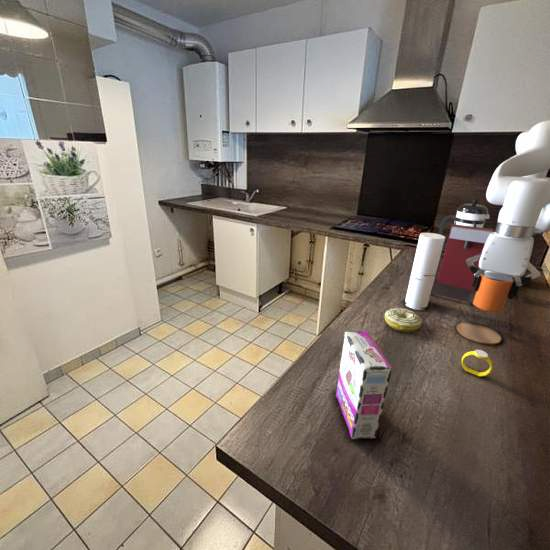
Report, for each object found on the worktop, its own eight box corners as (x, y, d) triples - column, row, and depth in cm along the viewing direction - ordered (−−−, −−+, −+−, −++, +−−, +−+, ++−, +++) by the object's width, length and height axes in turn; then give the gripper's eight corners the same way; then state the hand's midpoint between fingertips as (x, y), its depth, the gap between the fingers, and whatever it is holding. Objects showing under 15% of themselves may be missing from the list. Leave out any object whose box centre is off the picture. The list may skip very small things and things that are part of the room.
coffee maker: (438, 280, 122) (452, 224, 113) (474, 288, 115) (493, 229, 106) (430, 295, 109) (447, 232, 100) (471, 305, 102) (492, 239, 93)
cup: (473, 297, 87) (482, 269, 84) (502, 304, 83) (513, 275, 80) (471, 307, 82) (481, 277, 78) (503, 315, 78) (514, 284, 74)
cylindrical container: (429, 311, 98) (448, 239, 88) (407, 308, 99) (423, 237, 89) (423, 301, 104) (440, 233, 95) (402, 299, 106) (417, 232, 96)
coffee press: (468, 255, 154) (485, 197, 143) (481, 265, 140) (501, 202, 128) (433, 252, 158) (447, 195, 146) (441, 262, 143) (457, 200, 132)
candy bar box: (378, 439, 54) (394, 368, 47) (351, 440, 53) (364, 369, 47) (357, 393, 64) (368, 329, 57) (335, 394, 63) (343, 330, 57)
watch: (458, 370, 71) (464, 350, 69) (459, 364, 73) (466, 345, 71) (487, 381, 68) (495, 361, 65) (488, 375, 70) (496, 355, 68)
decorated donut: (425, 324, 90) (428, 313, 89) (413, 339, 83) (416, 327, 81) (392, 312, 97) (394, 302, 95) (378, 324, 89) (380, 314, 88)
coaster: (484, 323, 91) (484, 322, 91) (510, 345, 81) (510, 343, 81) (449, 323, 91) (449, 321, 91) (470, 344, 81) (471, 343, 81)
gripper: (556, 233, 72) (530, 296, 79) (474, 223, 81) (457, 280, 88) (561, 240, 67) (533, 307, 73) (472, 228, 76) (454, 289, 83)
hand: (492, 292), depth 81 cm, fingers closed on cup, 7 cm apart
